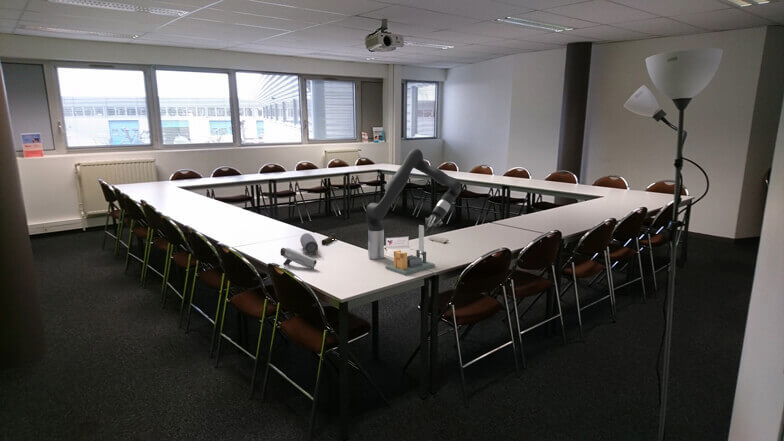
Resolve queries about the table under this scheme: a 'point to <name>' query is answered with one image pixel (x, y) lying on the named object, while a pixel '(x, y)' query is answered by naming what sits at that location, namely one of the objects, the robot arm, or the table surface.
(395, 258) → the tan upright block
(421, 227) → the grey rod
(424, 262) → the socket board
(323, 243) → the hand tool
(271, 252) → the table surface
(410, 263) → the heat sink
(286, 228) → the table surface
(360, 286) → the table surface
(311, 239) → the bluetooth speaker
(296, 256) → the gun
